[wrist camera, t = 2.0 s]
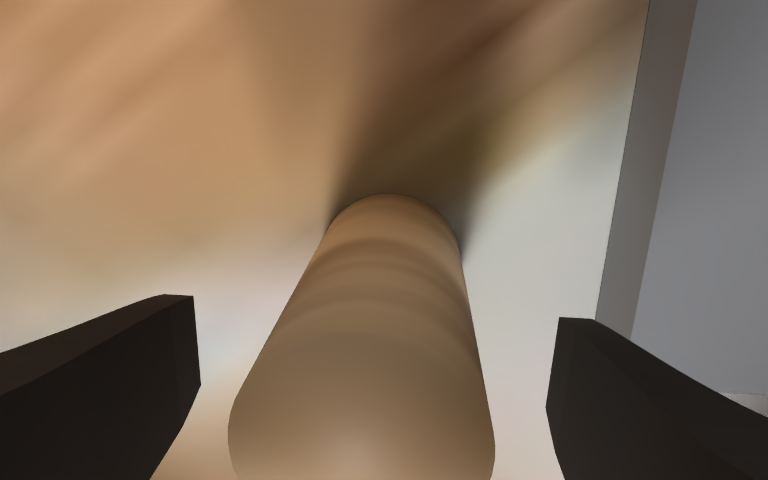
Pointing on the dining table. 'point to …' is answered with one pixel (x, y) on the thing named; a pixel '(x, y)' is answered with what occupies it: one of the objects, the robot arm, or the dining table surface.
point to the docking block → (696, 197)
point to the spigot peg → (370, 360)
